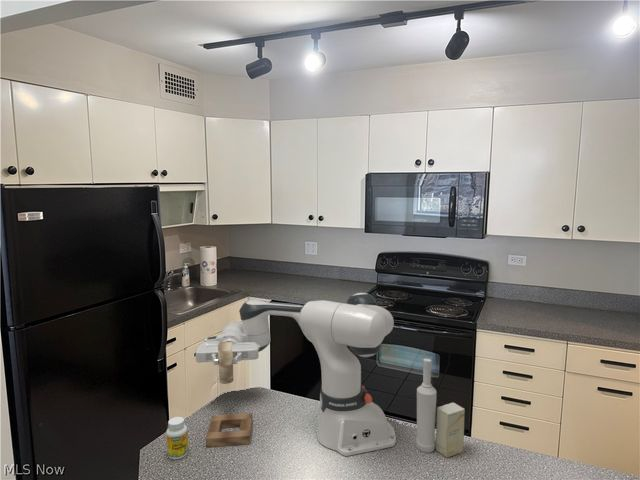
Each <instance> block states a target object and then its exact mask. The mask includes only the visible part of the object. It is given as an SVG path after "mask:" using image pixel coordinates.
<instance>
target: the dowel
mask: <svg viewBox="0 0 640 480" xmlns="http://www.w3.org/2000/svg"><path fill="white" fill-rule="evenodd" d="M232 358H233V352H232V343H231V342H221V343H219V344H218V362H219V365H218V382H219V383H220V384H222V385H229V384H230V383H232V382H234V380H235V379H234V364H232V362H233V361H232Z"/></svg>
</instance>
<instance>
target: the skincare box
mask: <svg viewBox="0 0 640 480" xmlns="http://www.w3.org/2000/svg"><path fill="white" fill-rule="evenodd" d="M465 413H466V411H465V408H464V407H462V406H460V405H459V404H457V403H455V402H450V403H446V404H444V405H440V406H438V407H437V406H436V423H435V450H436V451H438V452H439V453H440V454H441V455H442V456H444V457H445V458H449V457H453V456H455V455H458V454H460V453H462V452H464V443H465V442H464V439H465V436H464V435H465Z"/></svg>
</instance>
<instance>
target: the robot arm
mask: <svg viewBox="0 0 640 480" xmlns="http://www.w3.org/2000/svg"><path fill="white" fill-rule="evenodd" d="M346 301H347V302H345V303H344V302H336V301H332V300H325V299H323V300H322V299H321V300H311V301H310V300H309V301H307V302H306V303H305V304H297V303H286V302H275V301H267V300H262V299H261V300H259V299H250V300H246V301H244V303H242V305H241V307H239V308H240V309H239V311H238V312H239V316H240V320H241V322H239V321H231V322H229V323H228V324H226V325H225V326H224V327H223V328H222V329H221V333H220V334H218V335H215V336H214V335H213V336H209V337H205V338H204V339H203V342H201V344H199V346H198V347H197V349H196V351H195V362H197V363H213V366H217V365H218V366H219V362H218V344H219V343H221V342H231V343H232V352H233V358H232V361H233V362H232V364H233V365H238V362H241V361H252V360H254V361H255V360H257V359H259V352H262V351H263V350H265V349H266V348H268V346H269V345H270V343H271V333H270V332H271V331H270V323H269V316H270V315H271V316H272V315H273V316H281V317H282V316H283V317H290V318H293V319H294V320H295V321H296V322H297V323H298V326H299V328H300V329H301V331H302V333H303V335H304V336H305V337H306V339H307V340H308V341H309V342H311V343H312V345H313V347H314V349H315V351H316V353H317V355H318V358H319V363H320V370H321V387H320V393H319V407H320V419H319V425H318V428H317V431H316V438H317V441H318V442H319V444H321V445H322V446H324V447H325V448H328V449H329V450H334V451H335V452H337V453H339V454H340V455H342V456H344V457H347V456H354V455H358V454H364V453H368V452H372V451H373V452H374V451H378V450H383V449H387V448H392V447H394V446H395V445H396V443H397V437H396V434H397V433H396V431H395V429H394V427H393V425H392V424H391V422H389V421H388V420H387V417H386V415H385V413H384V411H383V409H382V408H381V407H380V406H379V405H378V404H376V403H375V402H373V397H372V396H371V394H369V392H368V390H367V388H365V386H364V385H363V384H362V366H361V363H360V362H361V361H360V360H359V359H358V357H357V356H359V357H360V358H361V357H362V358H370V357H373V356H375V355H376V354H378V353H380V351H381V346H382V342H383V340H384V339H385V337H386V336H388V335H389V334H390V333H391V332H392V331H393V328H394V325H395V323H394V316H393V315H392V314H391V312H390V311H389V310H387V309H386V308H385V307H382V306H380V305H378V304H379V302H378V301H376V298H375V297H374V296H373V295H372V294H371V293H366V292H357V293H354V294H352V295H350V296H349V297H348V298H347V300H346ZM348 347H349V348H348Z"/></svg>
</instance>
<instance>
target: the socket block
mask: <svg viewBox="0 0 640 480" xmlns="http://www.w3.org/2000/svg"><path fill="white" fill-rule="evenodd" d="M229 428H239V430H230V431H229V430H228V431H227V430H226V431H222V429H229ZM252 428H253V412H248V413H233V414H231V413H229V414H216V415H211V419H210V422H209V425H208V428H207V429H208V430H207V432H206V437H205V447H206V448H215V447H216V448H217V447H227V446H229V447H230V446H231V447H233V446H243V445H251V437H252Z"/></svg>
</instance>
